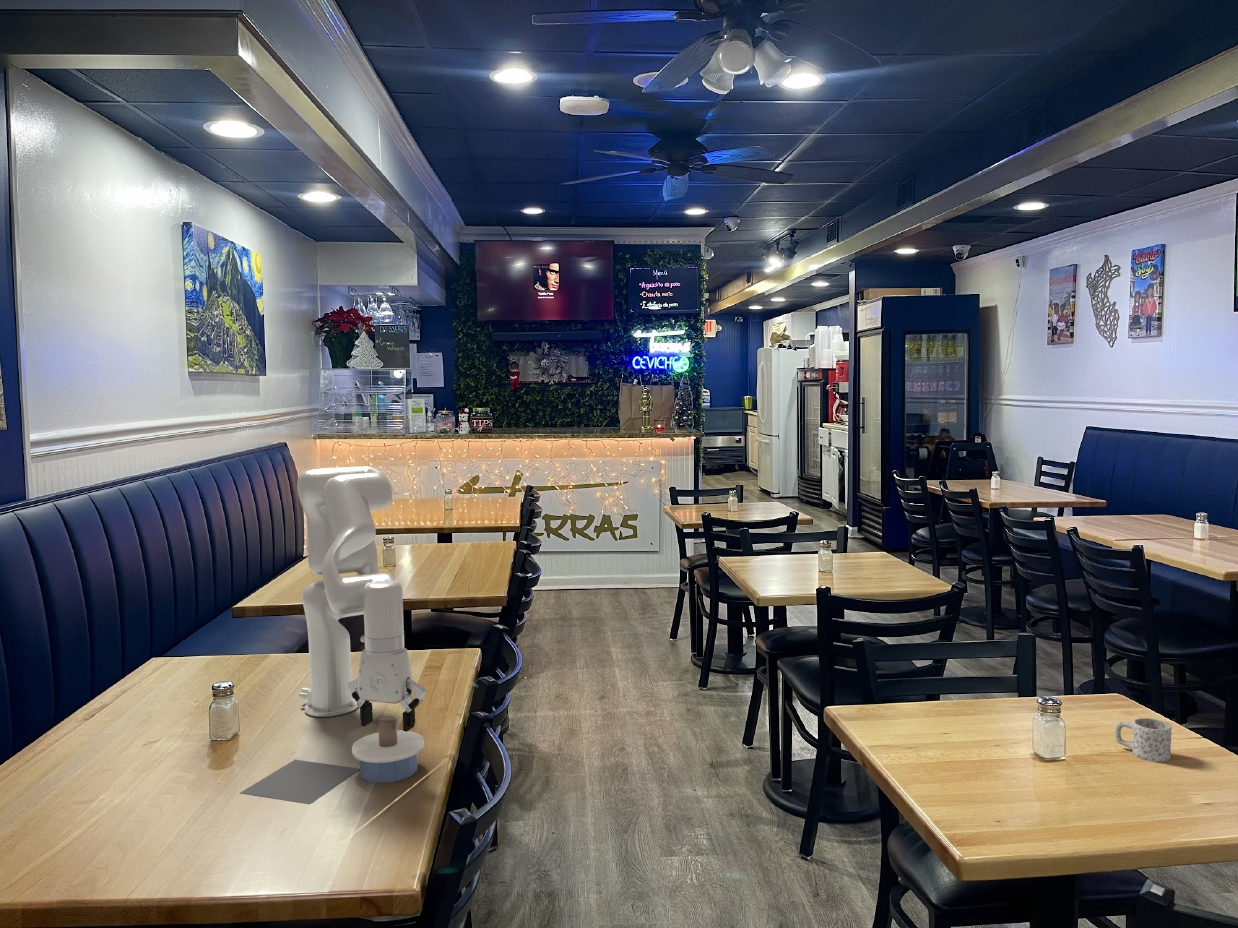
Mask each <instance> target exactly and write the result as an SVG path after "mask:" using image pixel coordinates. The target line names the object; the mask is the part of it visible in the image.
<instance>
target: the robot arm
mask: <svg viewBox="0 0 1238 928" xmlns="http://www.w3.org/2000/svg"><path fill="white" fill-rule="evenodd" d="M296 489H297V495H298V499H299V502H300V504H301V507H302V509H303V512H304V515H305V519H306V531H307V533H306V534H307V537H306V538H307V539H306V540H307V560H308V567H309V569H310V571H311V572H312V573H313V574H314V575H316V576H322V580H317V581H313V582H312V583H309V584H308V585H307V586H306V587H305V588H304V590H303V592H302V606H303V610H304V615H305V619H306V625H307V626H306V627H307V636H308V637H307V640H308V656H309V657H308V658H309V661H308V662H309V681H310V682H309V683H310V687H302V688H301V690H300V693H298V698H299V699H303V700H304V699H306V700H307V701H306V702H307V703H306V704H305V705H304V712H305V713H306V714H307V715H309V716H312V717H317V718H318V717H320V718H327V717H334V716H335V717H336V716H342V715H344V714H348V713H351V712H353V711H355V710H356V709H358V707H359V720H360V726H361V727H366V726H368V725H369V724H371V723H372V722H374V721H373V720H374V717H373V716H374V715H373V714H374V713H373V711H374V710H373V703H374V702H375V703H383V704H400V705H401V707H402V708H403V710H404V711H403V712H402V730H403V731H404V732H407V731H410V730H412V729H413V728H414V727H415V724H416V709H417V707H418V706H419V705H420V704H421V703H422V702H423V699H424V697H425V694H426V693H427V689H426V688H425V687H423V686H421V685H420V684H419V683H418V682H416V681H415V680H413V675H412V674H413V673H412V668H411V667H412V666H411V660H410V656H409V652H408V649H407V648H405V630H404V628H405V627H404V601H403V586H402V585H401V583H400V582H399V580H398V579H396V577H395V576H394V575H393V574H392V573H389V572H380V573H379V570H378V549H377V545H376V542H375V540H374V539H375V537H376V535H377V534H376V533H377V530H376V526H375V522H374V519H373V517H372V513H371V511H378V510H386V509H387V508H389V507H390V505H391V504H392V500H393V489H392V485H391V482H390V480H389V478H388V477H387V475H385V473H383V472H382V471H380V470H378V469H376V468H374V467H372V466H367V465H365V466H364V465H363V466H361V465H360V466H344V467H337V466H336V467H325V468H324V467H323V468H322V467H321V468H313V469H309V470H306V471H303V472H302V473H301V474H300V475H299V476H298V478H297V483H296ZM350 573H356V575H352V576H351V575H350V576H345V577H341V576H340V575H341V574H342V575H343V574H350ZM360 615H362V616H363V621H364V622H363V624H364V634H363V635H361V636H360V642H361V643H364V648H363V649H362V650H361V654H360V658H359V664H358V673H357V674H358V677H357V678H355V679H353V680H352V661H351V660H352V659H351V658H352V655H351V654H352V653H351V638H350V637H351V636H350V633H349V631H348V630H347V629H346V628H345V626H343V625H342V624H341V623H340V621H339V620H340V619H342V618H343V619H345V618H347V617H348V618H349V617H355V616H356V617H357V616H360ZM413 692H414V693H415V696H414V698H413ZM372 702H373V703H372Z"/></svg>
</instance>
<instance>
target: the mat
mask: <svg viewBox="0 0 1238 928" xmlns="http://www.w3.org/2000/svg"><path fill="white" fill-rule="evenodd" d="M359 771H360V767H359V768H357V767H353V766H345V765H338V764H332V763H331V764H329V763H322V762H316V761H315V762H314V761H308V760H302V759H301V760H300V759H293V760H292V761H290V762H288V763H287V764H285V765H283V766H282V767H280V768H278V769H277V770H275V771H273V772H272V773H270V774H268V775H267V776H265V777H263V778H262V779H260V780H259V781H257V782H255V783H254V784H252V785H250V786H248V788H246V789H244V790H242V791H241V792H239V794H242V795H249V796H256V797H261V798H268V799H274V800H281V801H287V802H292V803H301V804H306V805H311V804H313V803H314V802H316V801H317V800H319V799H320V798H322V797H323V796H324V795H326V794H327V793H329V792H330V791H332V790H333V789H334V788H336V787H337V786H339V785H341V784H342V783H344V781H346V780H348V779H349V778H350V777H352V776H353V775H354V774H356V773H358V772H359Z"/></svg>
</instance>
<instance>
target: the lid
mask: <svg viewBox="0 0 1238 928" xmlns="http://www.w3.org/2000/svg"><path fill="white" fill-rule="evenodd" d="M397 723H398V722H397V717H396V716H394V715H388V716H382V717H380V718H378V719H377V727H378V728H377V729H378V730H377V731H378V732H375V733H374V732H373V733H370V734H367V735H364V736H363V737H361V738H359V739H357V740H356V741H355V742H354V743H353V744H352V746H351V754H352V757H354V759H356V760H357V761H359V762H360V761H363V762H369V763H387V762H394V761H399V760H403V759H406V758H409V757H411V756H414V755H416V754H417V755H418V753H421V751H422V750H423V749H424V746H425V740H424V739H425V738H424V737H423V735H421V734H419V733H417V732H414V731H410V730H409V731H407V732H404V731H403V729H402V730H401V729H399V730H398V725H397Z"/></svg>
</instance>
